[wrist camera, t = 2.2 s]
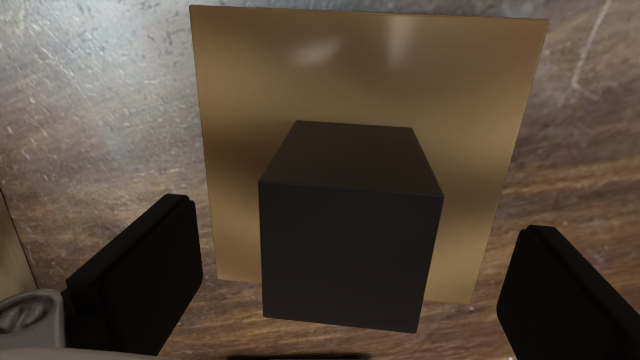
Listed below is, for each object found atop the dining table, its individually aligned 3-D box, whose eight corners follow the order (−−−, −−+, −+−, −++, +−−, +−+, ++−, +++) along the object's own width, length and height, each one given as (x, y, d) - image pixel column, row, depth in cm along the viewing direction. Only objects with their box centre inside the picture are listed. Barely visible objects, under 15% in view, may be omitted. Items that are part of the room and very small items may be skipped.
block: (295, 119, 14) (257, 180, 8) (412, 127, 13) (446, 194, 8) (294, 219, 15) (262, 317, 10) (397, 227, 15) (416, 334, 10)
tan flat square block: (219, 7, 15) (187, 4, 12) (514, 19, 14) (551, 19, 11) (236, 244, 20) (216, 279, 17) (454, 264, 19) (470, 305, 16)
